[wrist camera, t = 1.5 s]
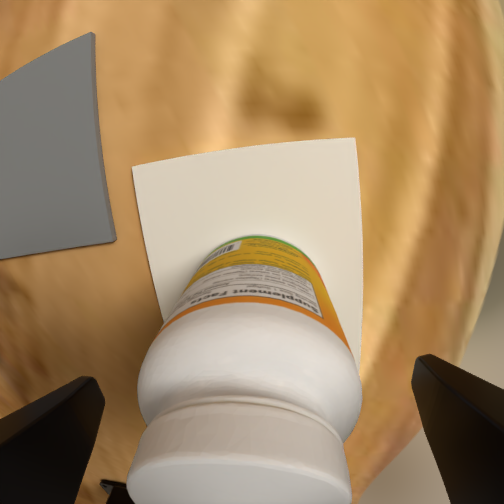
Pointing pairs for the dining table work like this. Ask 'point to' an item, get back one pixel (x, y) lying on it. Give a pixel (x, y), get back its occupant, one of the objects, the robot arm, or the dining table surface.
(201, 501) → the supplement bottle
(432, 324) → the dining table surface
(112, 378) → the dining table surface
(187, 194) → the tile
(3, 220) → the slate mat
